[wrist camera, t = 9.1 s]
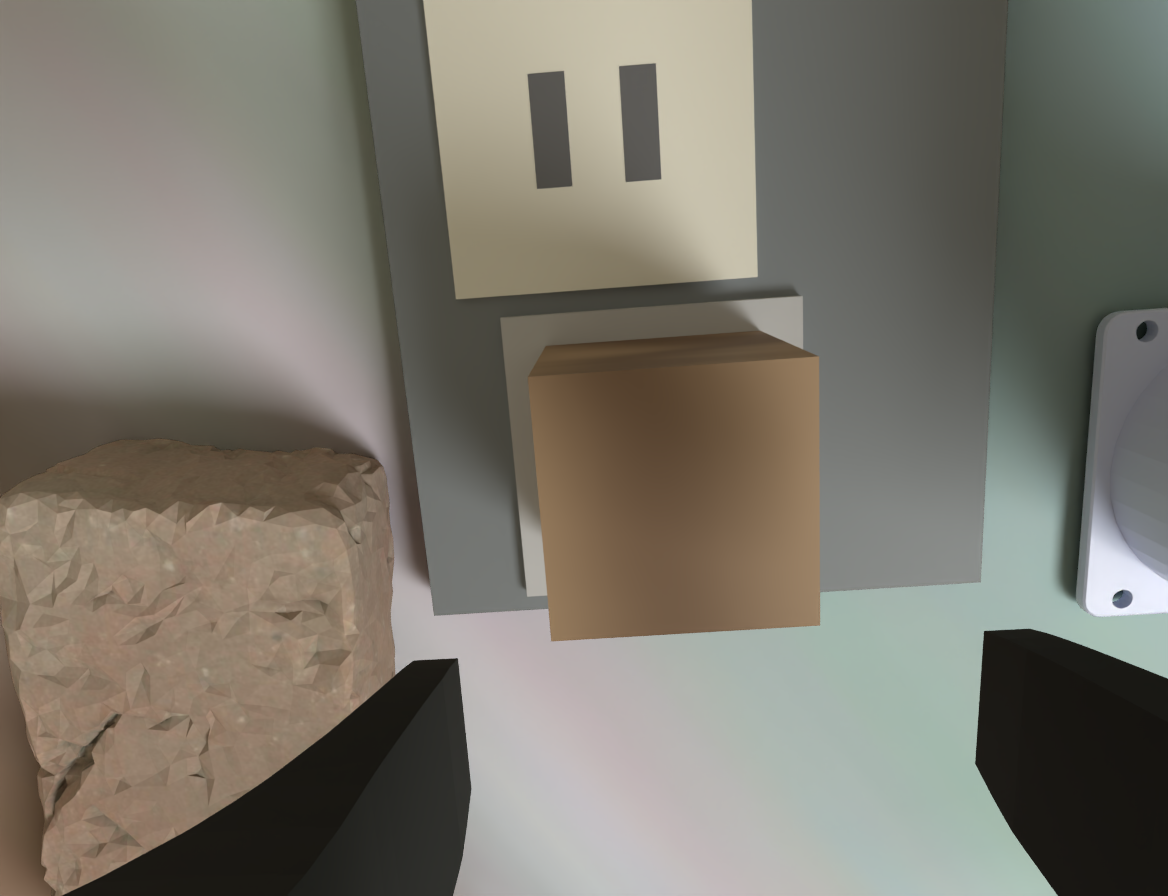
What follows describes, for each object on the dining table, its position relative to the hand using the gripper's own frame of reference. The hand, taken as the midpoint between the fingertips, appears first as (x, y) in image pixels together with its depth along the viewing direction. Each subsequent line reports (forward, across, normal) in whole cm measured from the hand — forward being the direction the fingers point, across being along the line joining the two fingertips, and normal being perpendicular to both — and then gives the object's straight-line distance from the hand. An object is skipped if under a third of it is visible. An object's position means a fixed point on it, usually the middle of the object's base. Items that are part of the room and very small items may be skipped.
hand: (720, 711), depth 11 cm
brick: (+11, +12, +6) cm, 17 cm away
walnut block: (+9, 0, -2) cm, 9 cm away
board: (+10, -1, -9) cm, 14 cm away
